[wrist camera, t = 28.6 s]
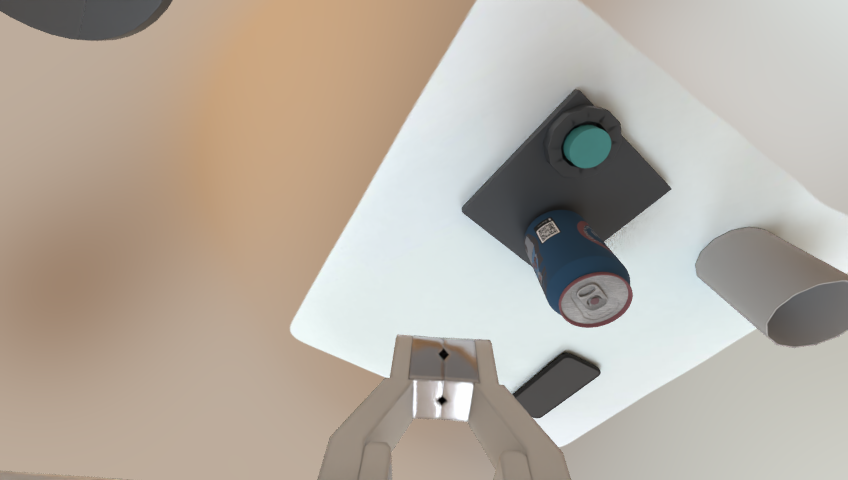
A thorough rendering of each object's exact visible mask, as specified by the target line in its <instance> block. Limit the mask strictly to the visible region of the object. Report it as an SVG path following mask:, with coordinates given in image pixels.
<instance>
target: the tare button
mask: <svg viewBox="0 0 848 480" xmlns="http://www.w3.org/2000/svg"><path fill="white" fill-rule="evenodd" d="M563 149H564V154H565V156H566V158H567V159H568V160H570V161H571V162H572V163H573V164H574V165H576V166H577V167H580V168H591V167H594V166H597V165H598V164H600V163H601V162H603V161H604V160H605V158H606V157H607V156H608V154H609V152H610V149H611V139H610V136H609V135H608V133H607V132H606V131H604V130H602V129H600V128H598V127H596V126H594V125H582V126H579V127H577V128H575V129H574V130H573V131H571V132H570V133H569V135H568V136H567V138H566V140H565V142H564V148H563Z"/></svg>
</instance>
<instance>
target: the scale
mask: <svg viewBox="0 0 848 480" xmlns="http://www.w3.org/2000/svg"><path fill="white" fill-rule="evenodd" d="M582 125H594V126H596V127H598V128H600V129H602V130H604V131H606V132H607V133H608V135H609V136H610V139H611V149H610V152H609V154H608V156H607V157H606V158H605V160H604V161H603V162H601V163H600V164H598V165H597V166H594V167H591V168H580V167H577V166H576V165H574V164H573V163H572V162H571V161H570V160H568V159H567V158H566V156H565V154H564V149H563V148H564V142H565V140H566V138H567V136H568V135H569V133H570V132H571V131H573V130H574V129H575V128H577V127H579V126H582ZM670 190H671V188H670V186H669V185H668V184H667V183H666V182H665V181H664V180H663V179H662V178H661V177H660V176H659V175H658V174H657V173H656V172H655V170H654V169H653V168H652V167H651V166H650V165H649V164H648V163H647V162H646V161H645V160H644V159H643V158H642V157H641V155H640V154H639V153H638V152H637V151H636V150H635V149H634V148H633V147H632V146H631V145H630V144H629V143H628V142H627V141H626V139H625V138H624V137H623V136H622V135H621V127H620V122H619V121H618V120H617V119H616V118H615V117H614V116H613V115H612V114H611V113H610V112H609V111H608V110H606V109H603V108H600V107H595V106H594V105H593V104H592V103H591V102H590V101H589V100H588V99H587V98H586V97H585V96H584V95H583V94H582V92H581V91H579V90H576V89H575V90H574V91H573V92H572V93H571V94H570V95H569V96H568V97H567V98H566V99H565V100H564V101H563V102H562V103H561V104H560V105H559V106H558V108H557V109H556V110H555V111H554V112H553V113H552V114H551V115H550V116H549V117H548V118H547V119H546V120H545V121H544V122H543V123H542V124H541V125H540V126H539V127H538V128H537V130H536V131H535V132H534V133H533V134H532V135H531V136H530V137H529V138H528V139H527V140H526V141H525V142H524V143H523V144H522V145H521V146H520V147H519V148H518V149H517V150H516V151H515V153H514V154H513V155H512V156H511V157H510V158H509V159H508V160H507V161H506V162H505V163H504V164H503V165H502V166H501V167H500V168H499V169H498V170H497V171H496V172H495V173H494V175H493V176H492V177H491V178H490V179H489V180H488V181H487V182H486V183H485V184H484V185H483V186H482V187H481V188H480V189H479V190H478V191H477V192H476V193H475V194H474V195H473V197H472V198H471V199H470V200H469V201H468V202H467V203H466V204H465V205H464V206H463V207H462V212H463V213H464V214H465V215H466V216H468V217H469V218H470V219H472V220H473V221H474V222H475V223H477V224H478V225H479V226H481V227H482V228H483V229H484V230H486V231H487V232H488V233H490V234H491V235H492V236H493V237H495V238H496V239H497V240H499V241H500V242H501V243H502V244H504V245H505V246H506V247H507V248H509V249H510V250H511V251H513V252H514V253H515V254H516V255H518V256H519V257H520V258H522V259H523V260H524V261H525V262H527V263H528V264H529V265H531V266H532V264H531V262H530V259H529V257H528V255H527V253H526V250H525V247H524V236H525V233H526V231H527V229H528V227H529V225H530V224H531V223H532V222H533V221H534V220H535V219H536V218H537V217H539V216H540V215H542V214H544V213H546V212H549V211H553V210H568V211H572V212H575V213H577V214H579V215H580V216H581V217H582V218H583V219H584V220H585V221H586V222H587V223H588V225H589V226H590V227H591V228H592V229H593V230H594V232H595V233H596V234H597V235H598V236H599V237H600V239H601V240H602V241H603V242H604V241H605V240H606V239H608V238H609V237H610V236H612V235H613V234H614V233H616V232H617V231H618V230H619V229H621V228H622V227H623V226H625V225H626V224H627V223H628V222H630V221H631V220H632V219H634V218H635V217H636V216H637V215H639V214H640V213H641V212H643V211H644V210H645V209H646V208H648V207H649V206H650V205H652V204H653V203H654V202H656V201H657V200H658V199H659V198H661V197H662V196H663V195H665V194H666V193H667V192H668V191H670ZM532 267H533V266H532Z"/></svg>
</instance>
